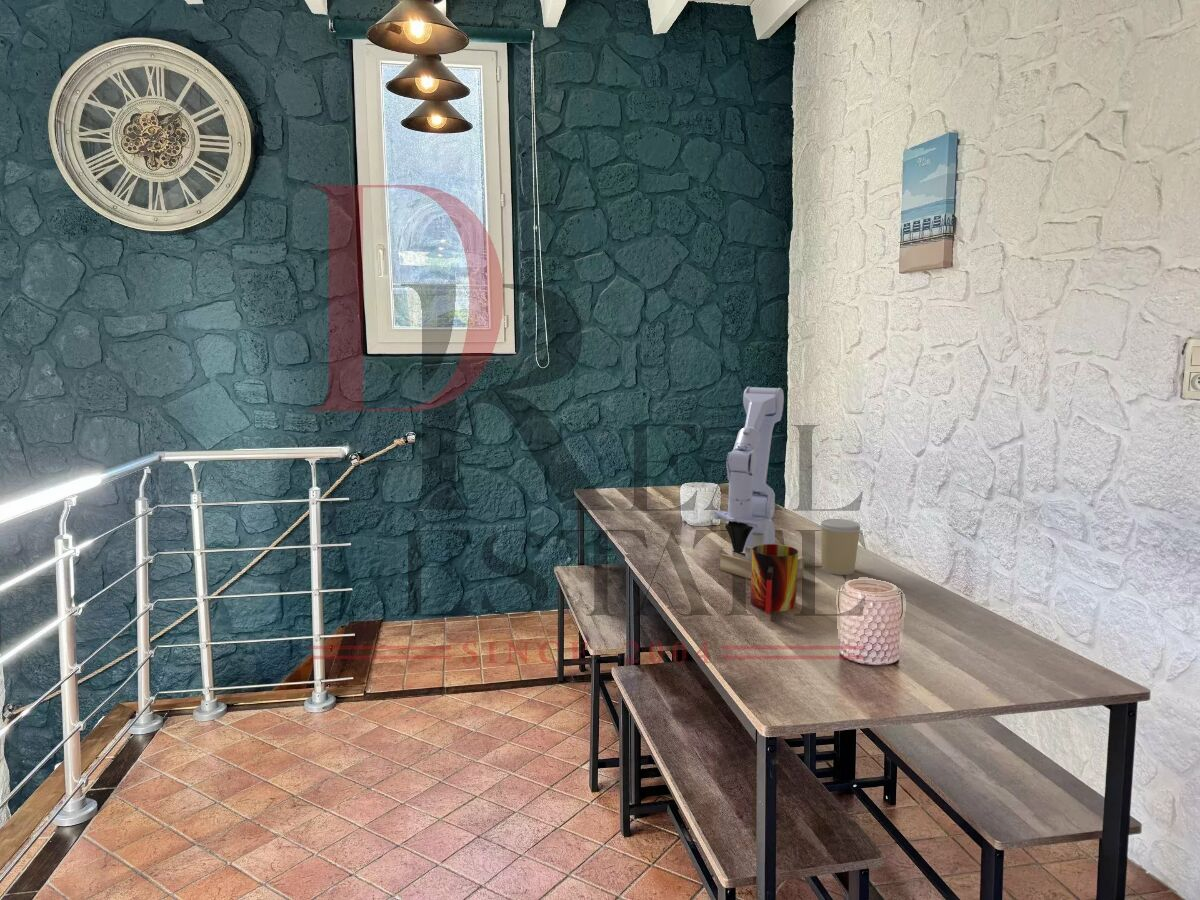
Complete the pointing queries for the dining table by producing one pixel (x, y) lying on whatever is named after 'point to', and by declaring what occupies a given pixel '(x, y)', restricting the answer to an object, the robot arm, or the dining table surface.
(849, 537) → the coffee cup
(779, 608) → the mug
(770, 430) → the robot arm
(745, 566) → the lane
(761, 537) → the flask
